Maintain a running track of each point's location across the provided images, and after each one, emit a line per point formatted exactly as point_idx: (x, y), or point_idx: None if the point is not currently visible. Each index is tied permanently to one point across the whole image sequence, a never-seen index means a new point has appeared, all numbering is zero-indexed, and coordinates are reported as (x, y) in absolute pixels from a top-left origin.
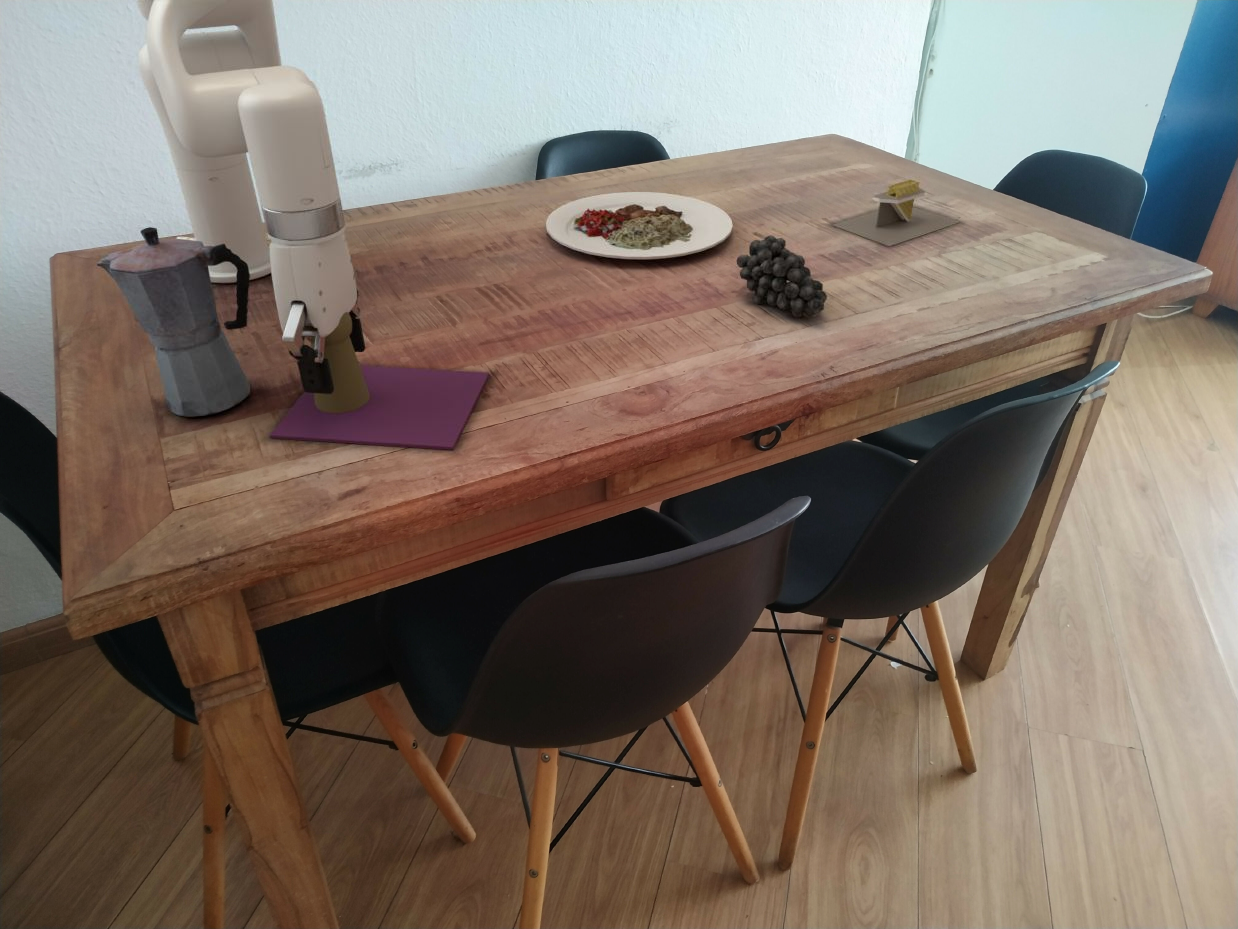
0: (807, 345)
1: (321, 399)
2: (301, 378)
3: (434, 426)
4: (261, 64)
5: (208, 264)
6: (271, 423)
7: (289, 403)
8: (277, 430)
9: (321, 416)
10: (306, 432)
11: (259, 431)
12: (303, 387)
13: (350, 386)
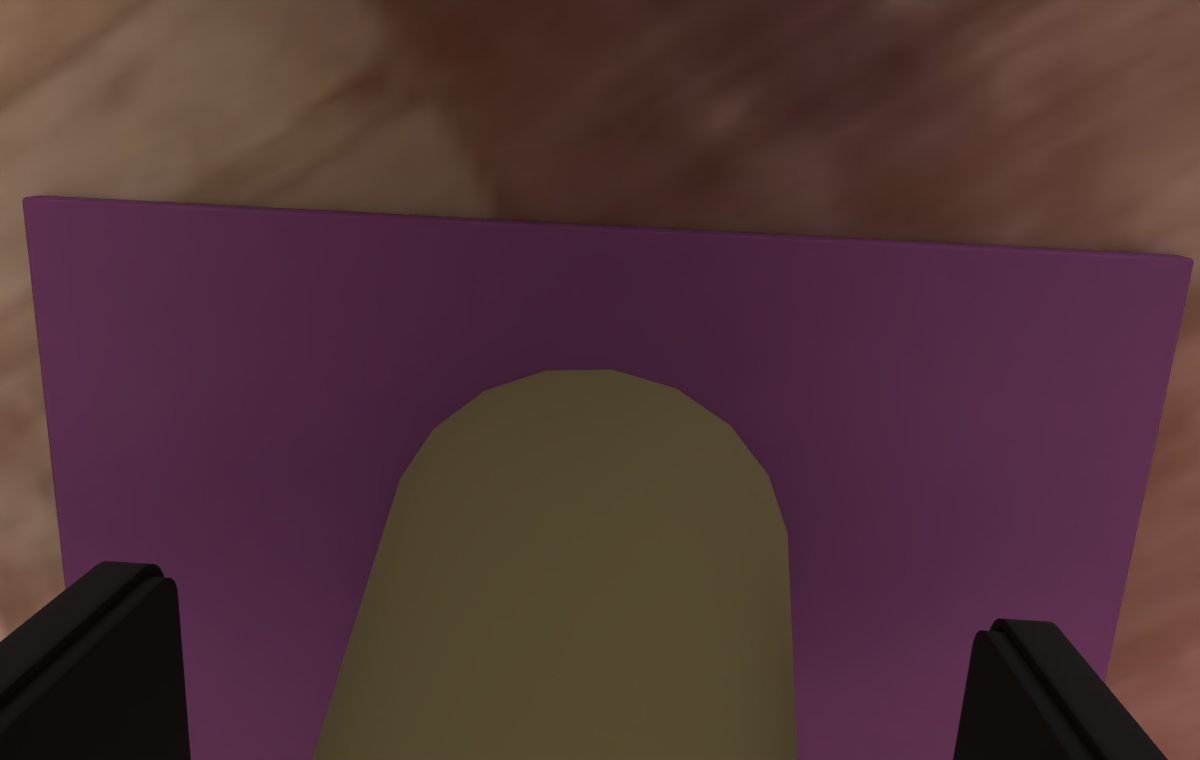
0: None
1: (386, 521)
2: (23, 631)
3: None
4: None
5: None
6: (236, 119)
7: (543, 148)
8: (92, 236)
9: (330, 490)
10: (113, 454)
11: (113, 69)
12: (87, 577)
13: None
